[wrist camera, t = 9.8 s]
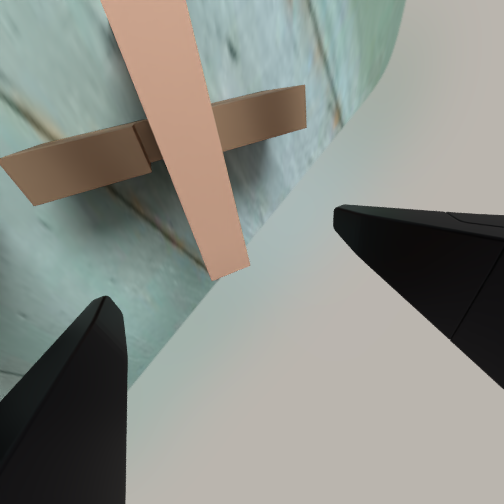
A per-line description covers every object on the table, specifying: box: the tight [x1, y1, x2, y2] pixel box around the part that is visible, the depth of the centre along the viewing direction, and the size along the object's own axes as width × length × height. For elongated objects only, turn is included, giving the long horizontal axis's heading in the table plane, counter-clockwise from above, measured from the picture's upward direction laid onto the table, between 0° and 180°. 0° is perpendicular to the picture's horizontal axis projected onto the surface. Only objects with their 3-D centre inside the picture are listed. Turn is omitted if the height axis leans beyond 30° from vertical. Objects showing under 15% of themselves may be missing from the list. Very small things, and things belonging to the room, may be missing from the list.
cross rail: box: [0, 85, 307, 206], centre depth 13 cm, size 14×2×5 cm, turn 102°
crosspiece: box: [101, 0, 250, 281], centre depth 11 cm, size 11×2×9 cm, turn 12°
